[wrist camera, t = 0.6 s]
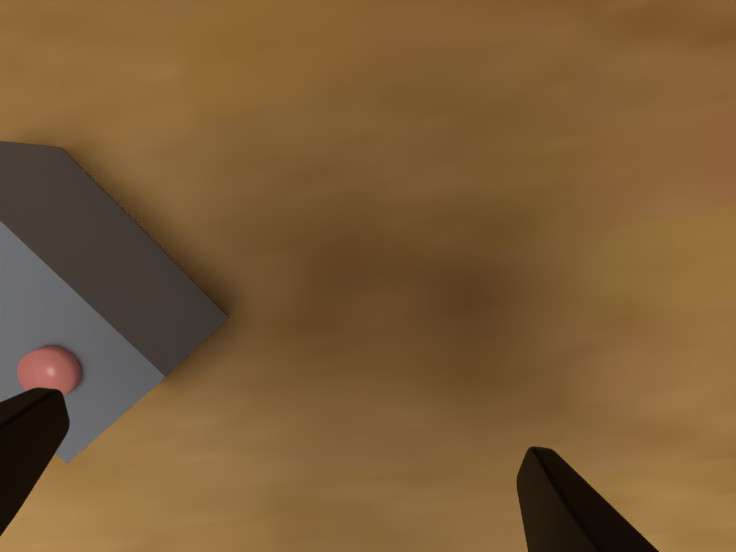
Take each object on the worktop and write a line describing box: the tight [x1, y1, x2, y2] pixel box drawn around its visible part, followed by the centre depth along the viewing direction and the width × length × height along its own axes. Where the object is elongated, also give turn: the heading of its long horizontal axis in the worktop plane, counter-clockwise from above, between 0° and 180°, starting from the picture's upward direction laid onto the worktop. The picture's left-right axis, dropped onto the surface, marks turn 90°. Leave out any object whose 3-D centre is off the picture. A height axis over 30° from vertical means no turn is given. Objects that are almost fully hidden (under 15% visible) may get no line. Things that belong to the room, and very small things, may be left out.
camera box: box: [0, 141, 229, 463], centre depth 18 cm, size 13×6×8 cm, turn 41°
